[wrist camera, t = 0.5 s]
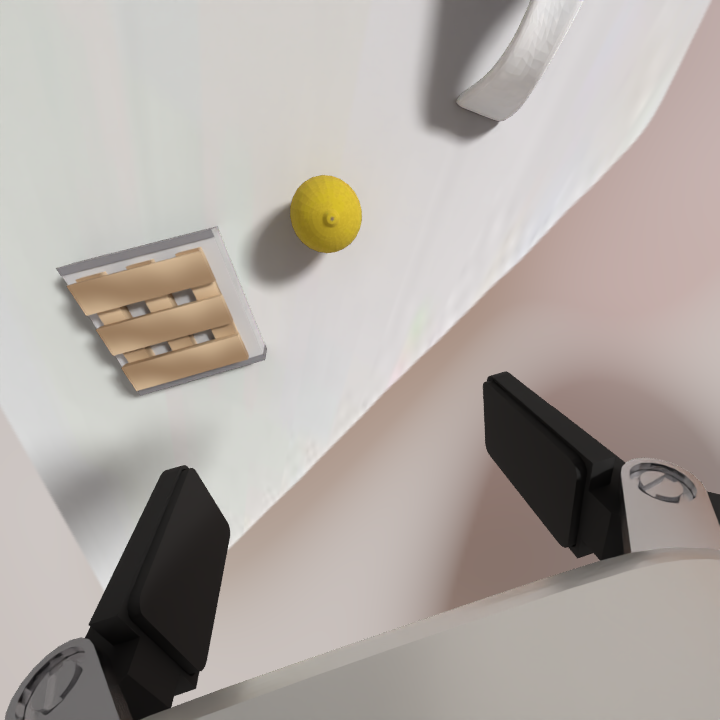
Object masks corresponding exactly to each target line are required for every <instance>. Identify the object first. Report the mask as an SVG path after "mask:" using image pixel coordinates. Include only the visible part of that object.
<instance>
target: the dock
mask: <svg viewBox="0 0 720 720" xmlns="http://www.w3.org/2000/svg"><path fill="white" fill-rule="evenodd" d="M197 247H201V248H202V250H203V251H204V254H205V256H206V258H207V261H208V263H209V265H210V267H211V270H212V272H213V274H214V277H215V279H216V282H217V284H218V287H219V289H220V291H221V293H222V295H223V297H224V299H225V302H226V304H227V306H228V309H229V311H230V313H231V315H232V318H233V321H234V323H235V325H236V328H237V330H238V332H239V334H240V336H241V338H242V341H243V343H244V345H245V347H246V350H247V352H248V354H249V358H248V360H244V361H241V362H237V363H234V364H230V365H227V366H223V367H220V368H216V369H213V370H209V371H206V372H202V373H198V374H195V375H191V376H188V377H184V378H181V379H177V380H174V381H170V382H167V383H163V384H160V385H156V386H153V387H149V388H146V389H142V390H139V391H138V393H139V394H140V395H144V394H147V393H151V392H154V391H158V390H161V389H165V388H168V387H172V386H175V385H179V384H182V383H186V382H189V381H193V380H196V379H200V378H203V377H207V376H210V375H214V374H217V373H221V372H224V371H228V370H231V369H235V368H238V367H242V366H245V365H249V364H252V363H256V362H259V361H263V360H265V357H266V351H267V348H266V346H265V343H264V341H263V338H262V336H261V333H260V331H259V328H258V326H257V323H256V321H255V318H254V316H253V313H252V311H251V308H250V306H249V303H248V301H247V298H246V296H245V294H244V291H243V289H242V286H241V284H240V281H239V279H238V276H237V274H236V271H235V269H234V266H233V264H232V261H231V259H230V256H229V254H228V251H227V249H226V246H225V244H224V241H223V239H222V236H221V234H220V232H219V229H218V227H213V228H209V229H205V230H201V231H197V232H193V233H189V234H186V235H182V236H178V237H174V238H170V239H166V240H162V241H158V242H154V243H150V244H146V245H142V246H138V247H135V248H131V249H127V250H123V251H119V252H115V253H111V254H107V255H103V256H99V257H95V258H91V259H87V260H84V261H80V262H76V263H72V264H69V265H66V266H63V267H59V268H56V269H57V271H58V272H59V274H60V275H61V276H62V277H63V278H64V280H65V281H66V283H67V284H68V285H71V284H73V283H77V282H76V281H75V280H76V279H79V278H82V277H85V276H89V275H93V274H97V273H101V272H104V271H106V273H107V274H112V273H116V272H119V271H123V270H127V269H126V267H127V266H129V265H132V264H135V263H139V262H143V261H147V260H151V259H154V260H155V262H158V261H162V260H166V259H170V258H174V257H176V256H175V254H176V253H178V252H182V251H186V250H190V249H193V248H197ZM172 295H173V297H174V299H175V301H176V303H177V305H182V304H185V303H189V302H193V301H197V299H196V297H195V295H194V293H193V291H192V289H191V288H189V289H186V290H182V291H178V292H174V293H172ZM126 306H127V308H128V310H129V311H130V313H131V315H132V316H133V317H137V316H141V315H145V314H148V313H151V312H150V310H149V308H148V306H147V304H146V303H145V301H140V302H137V303H133V304H129V305H126ZM88 316H89V317H90V319H91V321H92V322H93V324H94V325H95V327H96V328H97V329H98V328H99V327H100V326H104V324H103V322H102V321H101V319H100V318H99V316H98V315H97V313H95V314H92V315H88ZM193 336H194V338H195V340H196V342H197V344H199V343H202V342H206V341H209V340H213V339H215V337H214V335H213V333H212V331H211V329H209V330H205V331H201V332H198V333H194V334H193ZM150 347H151V348H152V350H153V352H154V353H155V355H159V354H163V353H166V352H170V351H172V349H171V347H170V345H169V344H168V342H167V341H165V342H162V343H158V344H154V345H151V346H150ZM115 357H116V358H117V360H118V361H119V363H120V364H121V366H122V367H123V366H124V365H125V364H127V363H129V362H128V361H127V359H126V358H125V356H124V355H123V353H122V354H118V355H115Z"/></svg>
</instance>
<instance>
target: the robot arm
mask: <svg viewBox="0 0 720 720" xmlns="http://www.w3.org/2000/svg"><path fill="white" fill-rule="evenodd" d="M483 399H484V422H485V444H486V449H487V451H488V453H489V454H490V456H491V457H492V459H493V460H494V461H495V463H496V464H497V465H498V466H499V468H500V469H501V470H502V471H503V473H504V474H505V475H506V477H507V478H508V479H509V480H510V482H511V483H512V484H513V485H514V487H515V488H516V489H517V491H518V492H519V493H520V494H521V496H522V497H523V498H524V499H525V501H526V502H527V503H528V505H529V506H530V507H531V508H532V510H533V511H534V512H535V513H536V515H537V516H538V517H539V519H540V520H541V521H542V522H543V524H544V525H545V526H546V527H547V529H548V530H549V531H550V533H551V534H552V535H553V536H554V538H555V539H556V540H557V541H558V543H559V544H560V545H561V546H562V547H565V548H566V547H569V548H570V550H571V551H572V552H573V553H574V554H575V556H576V557H577V558H580V557H583V556H586V555H589V554H592V553H594V554H595V555H596V556H597V557H598V559H599V560H600V561H598V562H595V563H592V564H589V565H585V566H582V567H579V568H576V569H573V570H570V571H566V572H563V573H560V574H557V575H554V576H551V577H547V578H544V579H541V580H538V581H535V582H532V583H529V584H527V585H523V586H520V587H517V588H514V589H512V590H509V591H505V592H502V593H499V594H497V595H494V596H491V597H488V598H485V599H482V600H479V601H476V602H473V603H470V604H467V605H464V606H461V607H458V608H455V609H452V610H449V611H446V612H443V613H441V614H437V615H434V616H432V617H429V618H426V619H423V620H420V621H417V622H414V623H411V624H408V625H405V626H402V627H399V628H397V629H393V630H391V631H388V632H385V633H382V634H379V635H376V636H373V637H370V638H367V639H364V640H361V641H359V642H356V643H353V644H350V645H347V646H344V647H341V648H338V649H335V650H333V651H330V652H327V653H324V654H321V655H318V656H315V657H312V658H309V659H307V660H304V661H301V662H298V663H295V664H292V665H289V666H287V667H284V668H281V669H278V670H275V671H272V672H269V673H267V674H264V675H261V676H258V677H255V678H252V679H250V680H246V681H244V682H241V683H238V684H235V685H232V686H229V687H227V688H224V689H221V690H218V691H215V692H213V693H210V694H207V695H204V696H202V697H199V698H196V699H194V700H191V701H188V702H186V703H183V704H181V705H177V706H175V707H172V708H171V706H172V702H173V698H174V696H176V695H179V694H182V693H185V692H188V691H190V690H193V689H196V685H197V681H198V675H199V671H202V670H203V669H204V667H205V665H206V661H207V656H208V651H209V646H210V640H211V635H212V630H213V624H214V619H215V614H216V607H217V603H218V597H219V592H220V587H221V581H222V576H223V571H224V565H225V560H226V555H227V549H228V544H229V539H230V528H229V524H228V522H227V521H226V519H225V518H224V516H223V514H222V513H221V511H220V509H219V508H218V506H217V505H216V503H215V501H214V500H213V498H212V496H211V495H210V493H209V492H208V490H207V488H206V487H205V485H204V483H203V482H202V480H201V479H200V477H199V475H198V474H197V472H196V471H195V469H193V468H190V469H189V468H188V467H187V466H186V465H183V466H179V467H176V468H172V469H169V470H165V471H164V472H163V473H162V474H161V476H160V478H159V480H158V482H157V484H156V486H155V488H154V490H153V492H152V494H151V497H150V499H149V501H148V503H147V505H146V507H145V509H144V511H143V513H142V515H141V517H140V519H139V521H138V523H137V525H136V528H135V530H134V532H133V534H132V536H131V538H130V540H129V542H128V544H127V546H126V548H125V550H124V552H123V554H122V556H121V559H120V561H119V563H118V565H117V567H116V569H115V571H114V573H113V575H112V577H111V579H110V581H109V583H108V585H107V587H106V590H105V592H104V594H103V596H102V598H101V600H100V602H99V604H98V606H97V608H96V610H95V612H94V614H93V616H92V618H91V621H90V623H89V626H90V629H89V631H88V633H87V635H86V637H85V638H77V639H73V640H70V641H68V642H66V643H64V644H63V645H61V646H59V647H58V648H56V649H55V650H53V651H52V652H51V653H49V654H48V655H47V656H46V657H45V658H44V659H43V660H42V661H41V662H40V663H39V664H37V665H36V667H34V668H33V670H32V671H31V672H30V673H29V675H28V676H27V677H26V678H25V679H24V681H23V682H22V683H21V685H20V686H19V688H18V690H17V691H16V693H15V695H14V696H13V698H12V700H11V702H10V704H9V707H8V709H7V712H6V716H5V720H720V494H715V493H711V492H707V491H706V489H705V487H704V486H703V484H702V482H701V481H699V480H698V479H697V478H696V477H695V476H694V475H693V474H692V473H690V472H688V471H687V470H685V469H683V468H682V467H680V466H677V465H675V464H672V463H670V462H667V461H663V460H659V459H653V458H637V459H632V460H630V461H628V462H626V463H625V462H624V461H623V460H621V459H620V458H619V457H617V456H616V455H615V454H614V453H612V452H611V451H610V450H608V449H607V448H606V447H605V446H603V445H602V444H601V443H599V442H598V441H597V440H596V439H594V438H593V437H592V436H590V435H589V434H588V433H586V432H585V431H584V430H583V429H581V428H580V427H579V426H578V425H576V424H575V423H574V422H572V421H571V420H569V419H568V418H567V417H566V416H565V415H563V414H562V413H561V412H559V411H558V410H557V409H556V408H554V407H553V406H551V405H550V404H548V403H547V402H546V401H545V400H543V399H542V398H541V397H539V396H538V395H537V394H535V393H534V392H533V391H532V390H530V389H529V388H527V387H526V386H525V385H524V384H523V383H521V382H520V381H519V380H517V379H516V378H515V377H514V376H512V375H511V374H510V373H508V372H502V373H499V374H495V375H491V376H489V377H488V379H487V382H484V384H483Z"/></svg>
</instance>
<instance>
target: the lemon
mask: <svg viewBox="0 0 720 720" xmlns="http://www.w3.org/2000/svg"><path fill="white" fill-rule="evenodd" d="M290 218H291V222H292V226H293V229H294V231H295V233H296V235H297V236H298V237H299V239H300V240H301V241H302V242H303V243H304V244H305V245H307V246H308V247H309V248H311V249H313V250H316V251H318V252H324V253H332V252H337V251H339V250H342V249H344V248H345V247H347V246H348V245H349V244H351V242H352V241H353V240H354V239H355V238H356V236H357V234H358V232H359V229H360V225H361V221H362V211H361V207H360V203H359V200H358V198H357V196H356V194H355V192H354V191H353V190H352V189H351V187H350V186H349V185H348V184H346V183H345V182H344V181H342V180H341V179H338V178H336V177H333V176H325V175H321V176H316V177H312V178H310V179H309V180H307V181H305V182H304V183H303V184H302V185H301V186H300V187H299V188H298V189H297V191H296V193H295V194H294V196H293V199H292V203H291V206H290Z"/></svg>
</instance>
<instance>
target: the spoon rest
mask: <svg viewBox="0 0 720 720" xmlns="http://www.w3.org/2000/svg"><path fill="white" fill-rule="evenodd" d="M583 1H584V0H530V3H529V5H528V8H527V10H526V12H525V15H524V17H523V19H522V21H521V23H520V25H519V28H518V30H517V32H516V33H515V35H514V37H513V39H512V41H511V42H510V44H509V46H508V47H507V49H506V50H505V52H504V53H503V55H502V56H501V58H500V59H499V60H498V62H497V63H496V64H495V65H494V67H493V68H492V69H491V70H490V71H489V72H488V73H487V74H486V75H485V76H484V77H483V78H482V79H480V80H479V81H478V82H477V83H475V84H474V85H473V86H471V87H470V88H468V89H467V90H466V91H464V92H463V93H462V94H461V95H460V96H459V97H458V99H457V104H458V105H459V106H461V107H463V108H465V109H467V110H470V111H473V112H475V113H478V114H480V115H482V116H485V117H488V118H490V119H493V120H497V121H504V120H506V119H508V118H509V117H511V116H512V115H513V114H514V113H516V112H517V110H519V109H520V107H521V106H522V105H523V104H524V102H525V101H526V100H527V98H528V97H529V95H530V94H531V93H532V91H533V90H534V88H535V87H536V85H537V84H538V82H539V80H540V79H541V77H542V76H543V74H544V72H545V71H546V69H547V67H548V66H549V64H550V62H551V60H552V59H553V57H554V55H555V53H556V52H557V50H558V48H559V46H560V44H561V43H562V41H563V39H564V37H565V35H566V34H567V32H568V30H569V28H570V26H571V25H572V23H573V21H574V19H575V17H576V15H577V13H578V11H579V9H580V7H581V5H582V3H583Z"/></svg>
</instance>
